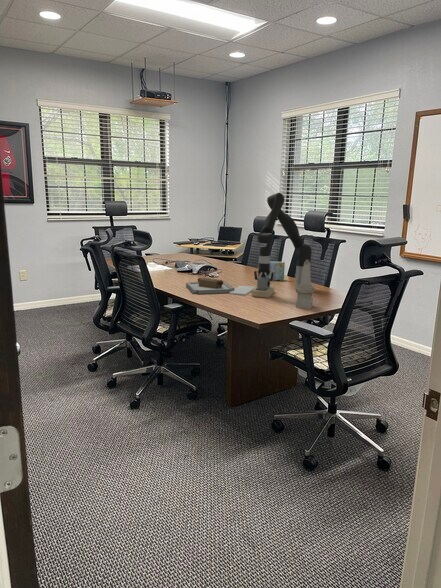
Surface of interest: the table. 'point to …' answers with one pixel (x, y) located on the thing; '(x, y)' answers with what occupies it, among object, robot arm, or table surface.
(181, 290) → the table surface
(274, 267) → the snack box
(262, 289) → the box
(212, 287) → the gray tray
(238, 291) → the mat
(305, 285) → the miniature monument
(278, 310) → the table surface
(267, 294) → the carton
